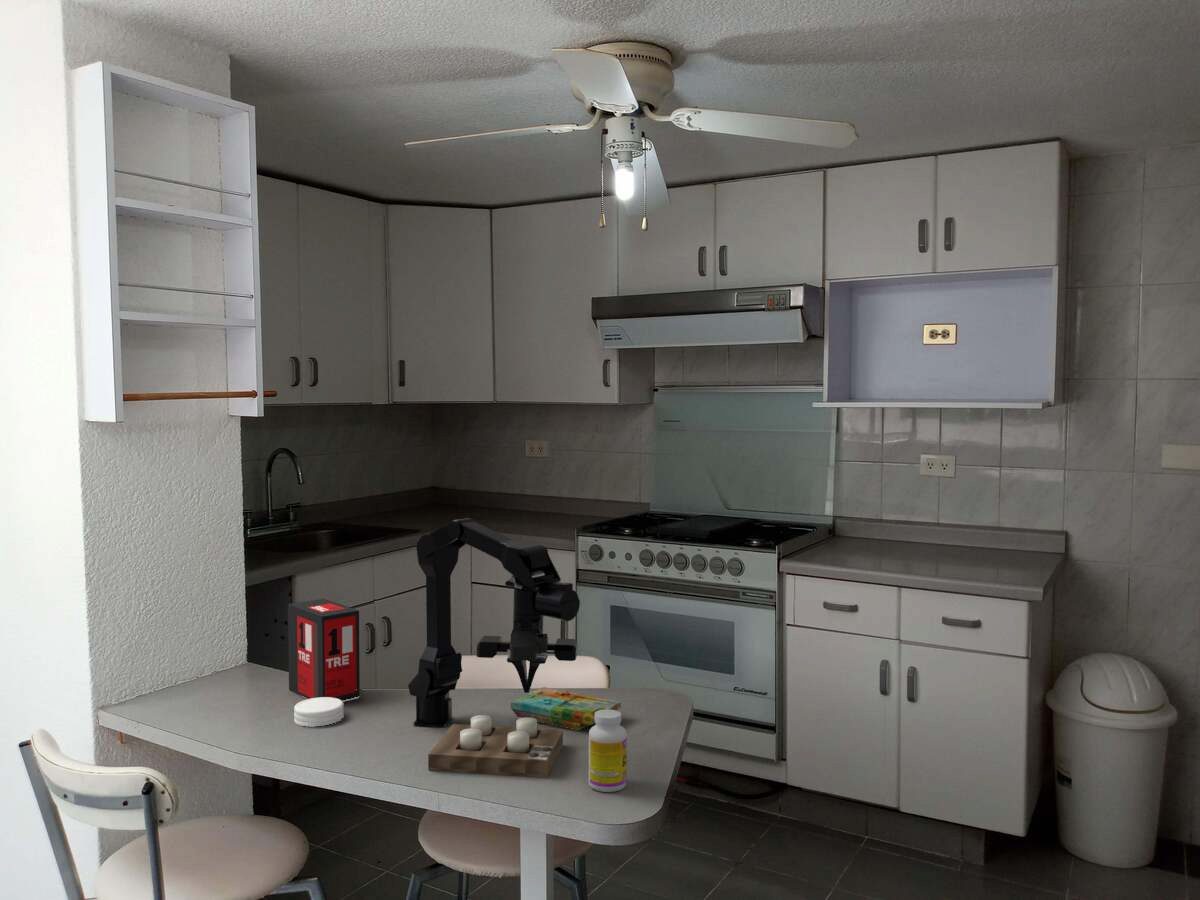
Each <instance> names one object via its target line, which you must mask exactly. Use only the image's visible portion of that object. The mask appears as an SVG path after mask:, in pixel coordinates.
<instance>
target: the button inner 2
mask: <svg viewBox="0 0 1200 900" xmlns="http://www.w3.org/2000/svg"><path fill="white" fill-rule="evenodd" d="M515 724H516V725H515V726H516V731H525V732H528V733H529V738H533V737H536V736H537V728H538V722H537V720H536V719H534V718H528V717H526V718H518V719H516V722H515Z"/></svg>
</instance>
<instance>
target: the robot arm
mask: <svg viewBox="0 0 1200 900" xmlns="http://www.w3.org/2000/svg"><path fill="white" fill-rule="evenodd" d="M466 545H467V546H470V547H472V548H474V549H477V550H479V551H480V552H482V553H484V554H486V555H488V556H490V557H493V558H494V559H496V560H498V561H499V562H500V563H501V565H502V567H503V569H504V570H506V571H507V572H508V573H509V574H510V575H512V576H511V577H510V578H509V579H507V580H506V581H505V582H504V585H505V586H506V587H511V588H513V610H512V611H513V612H512V613H513V615H512V618H513V619H512V620H513V621H512V631H511V633H510V640H509V641H502V640H503V639H502V636H501V635H500V636H499V635H497V636H496V635H482V637H481V638H480V640H479V641H478V643H477V645H476V657H477V658H482V659H484V658H485V659H492V658H494V657H495V656H497V654H498V653H507V658H506V662H507V663H508V664H510V663H511V664H512V665H513V666H514V668H515V669H516V671H517V674H518V677H519V680H520V683H521V686H522V690H523V693H524V694H530V690H531V687H532V684H533V681H534V678H535V675H536V672H537V670H538V668H539V667H540V665H544V664H546V662H547V659H548V656H549V654H551V655H554V657H555V658H556V659H557V660H558V661H560V662H562V661H564V662H574V661H576V659H577V656H578V648H579V647H578V645H579V643H578V641H577V640H576V639H575V638H559V637H558V638H557V639H556V641H555V643H550V642H549V636H548V633H544V617H547V618H552V619H556V620H561V621H566V622H570V621H572V620H574V619H575V618H576V616H577V615H578V614H579V613H578V612H579V611H580V610H579V609H580V605H581V602H580V601H581V600H580V599H579V595H578V593H577V591H576V590H574V586H573V585H574V584H573V583H572V582H561V580H562V579H561V577H560V574H559V572H558V571H557V568H556V567H555V565H554V563H553V561H552V559H551V556H550V555H549V550H548V548H546V546H544V545H542V544H538V543H535V542H531V541H530V542H529V541H523V540H522V541H521V540H514V539H512V538H510V537H508V536H506V535H504V534H501V533H499V532H497V531H495V530H493V529H492V528H489V527H487V526H485V525H482V524H480V523H478V522H477V521H476V520H475V519H473V518H470V517H465V518H459V519H454V520H452V521H450V522H449V523H448V524H446V525H445V526H443V527H440V528H438V529H437V530H436V529H435V530H434V531H432V532H430V533H428V534H427V533H426V534H423V535H422V536H420V538H419V539H418V540H417V542H416V555H417V563H418V565H419V567H420V569H421V571H422V572H423V574H424V575H425V586H426V587H425V591H426V592H425V593H426V594H425V595H426V597H425V599H426V603H425V605H426V610H425V611H426V647H425V648H424V650H423V652H422V653H421V656H420V657H419V661H418V662H419V663H418V670H417V674H416V675H415V677H414V678H413V679H411V681H410V682H409V683H408V691H409V695H410V696H413V697H415V706H416V707H415V710H416V714H415V715H416V716H415V718H416V719H415V720H414V722H413V724H412V725H413V726H418V727H419V726H421V727H441V728H442V727H445V726H446V724H448V722H449V721H450V720H451V719H452V718H453V700H452V697H450V691H454V690H456V687H457V683H458V680H460V677H461V673H463V668H462V657H463V655H462V653H461V652H457V651H456V650H455V648H454V646H453V645H452V606H451V605H452V600H451V599H452V597H451V594H452V592H451V587H452V584H451V583H452V581H451V580H452V579H451V578H452V573H453V572H454V570H455V568H456V566H457V563H458V561H459V553H460V550H461V549H462V548H464V547H465V546H466ZM527 662H529V664H528V665H529V667H528V668H527ZM527 669H528V671H527Z"/></svg>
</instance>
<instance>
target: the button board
mask: <svg viewBox="0 0 1200 900" xmlns="http://www.w3.org/2000/svg"><path fill="white" fill-rule="evenodd" d="M470 728H471V724H458V723H453V724H452V725H451V726H450V727H449V728H448V730H447V731H446V732H445V733H444V735H443V736H442V737H441V738H440V739H439V740H438V741H437V743H436V744H435V745H434V746H433V747H432V749H431V750H430V751H429V752H428V755H427V760H428V762H427V763H428V764H427V765H428V766H427V769H428V771H435V772H436V771H437V772H450V773H451V772H452V773H465V774H466V773H470V774H485V775H500V776H517V777H534V778H535V777H537V778H549V776H550V774H551V772H552V769H553V767H554V765H555V763H556V760H557V759H558V756H559V754H560V752H561V750H562V748H563V745H564V744H563V743H564V729H557V728H556V729H555V728H541V727H540V728H538V727H537V736H536V737H533V738H529V750H528V751H527V752H524V753H512V752H509V751H508V750H507V739H508V733H510V732H513V731H516V727H515V726H501V725H500V726H499V725H498V726H496V725H492V732H491V734H489V735H486V736H482V747H481V748H480V749H477V750H463V749H461V748H460V732H461V731H462V730H464V729H470Z"/></svg>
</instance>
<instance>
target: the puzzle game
mask: <svg viewBox="0 0 1200 900" xmlns="http://www.w3.org/2000/svg"><path fill="white" fill-rule="evenodd" d="M621 708H622V702H621V701H616V700H611V699H605V698H602V697H601V698H600V697H595V696H591V695H587V694H586V695H585V694H580V693H575V692H571V691H568V690H566V689H564V690H560V689H557V688H556V689H555V688H550V687H545V686H544V687H540V688H538V689H536V690H535V691H532V692H529V693H527V694H526V695H524V696H522V697H518V698H517V699H516V700H513V701H511V702H510V709H511V711H512V712H513V713H514V714H515V715H516V717H521V718H526V717H528V718H534V719H536V720H537V721H539V722H538V723H541V722H544V723H543V724H546V723H549V724H548V725H550V724H553V725H552V726H555V725H557V726H556V727H560V726H562V727H561V728H565V727H568V728H567V729H570V728H573V729H572V730H575V729H578V730H577V731H581V730H582V728H583V729H584V728H586V727H588V726H593V725H594V724H596V723H595V720H594V718H595V712H596V711H599V710H604V709H610V710H616V711H618V710H619V709H621ZM587 725H588V726H587ZM585 726H586V727H585ZM580 729H581V730H580Z"/></svg>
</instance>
